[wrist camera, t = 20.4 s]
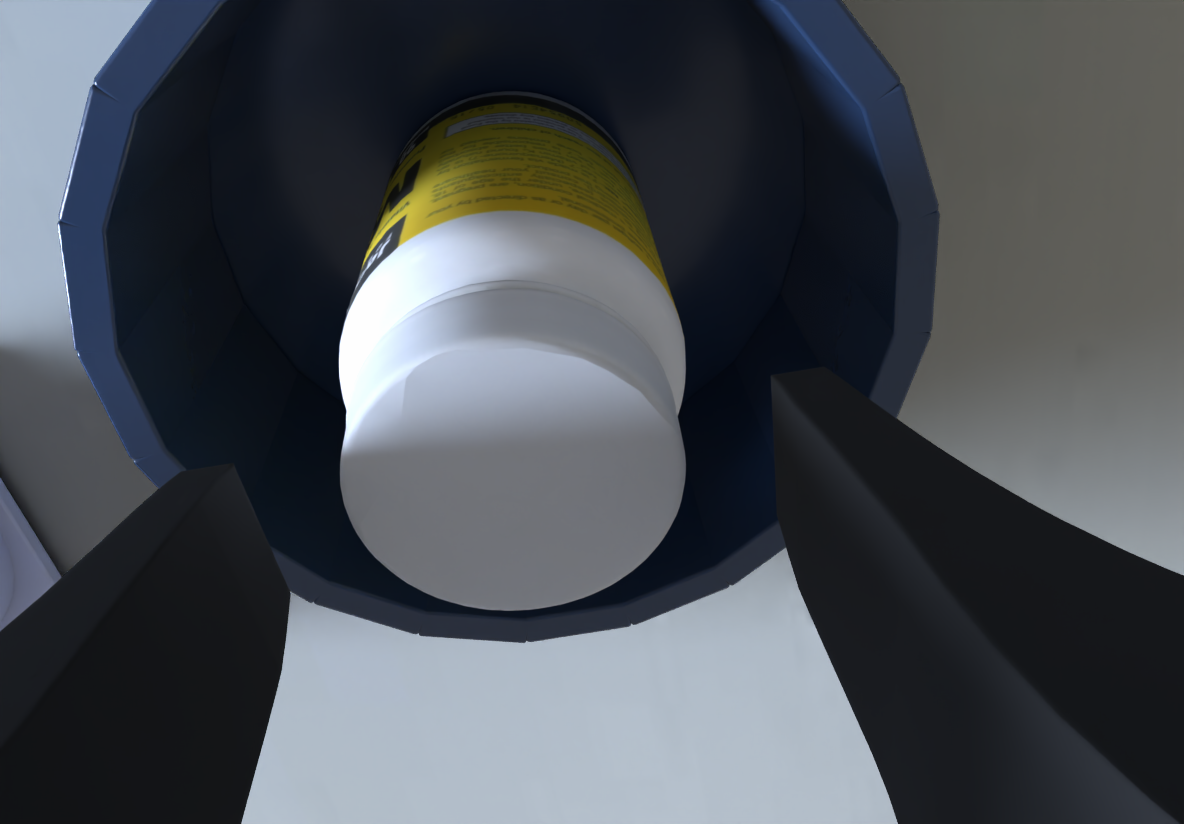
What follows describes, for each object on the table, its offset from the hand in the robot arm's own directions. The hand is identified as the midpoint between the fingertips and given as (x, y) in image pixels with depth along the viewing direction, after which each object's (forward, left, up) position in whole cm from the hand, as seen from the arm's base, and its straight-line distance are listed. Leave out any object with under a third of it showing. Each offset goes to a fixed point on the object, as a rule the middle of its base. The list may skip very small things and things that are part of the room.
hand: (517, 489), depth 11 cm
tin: (0, 0, -9) cm, 9 cm away
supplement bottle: (0, 0, -8) cm, 8 cm away
